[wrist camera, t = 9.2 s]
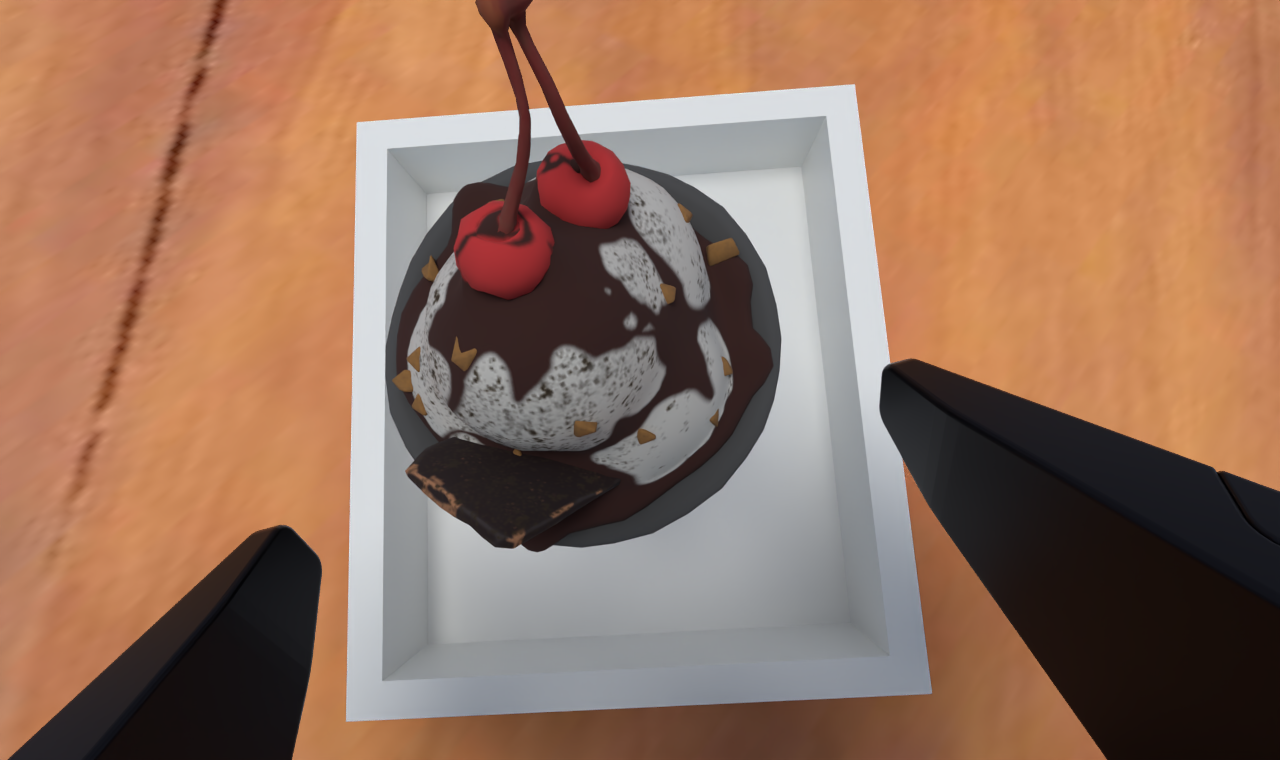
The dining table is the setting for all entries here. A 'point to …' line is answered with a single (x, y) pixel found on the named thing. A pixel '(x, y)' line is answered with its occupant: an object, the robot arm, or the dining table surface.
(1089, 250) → the dining table surface
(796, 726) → the dining table surface
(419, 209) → the tray
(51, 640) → the dining table surface
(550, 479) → the sundae
